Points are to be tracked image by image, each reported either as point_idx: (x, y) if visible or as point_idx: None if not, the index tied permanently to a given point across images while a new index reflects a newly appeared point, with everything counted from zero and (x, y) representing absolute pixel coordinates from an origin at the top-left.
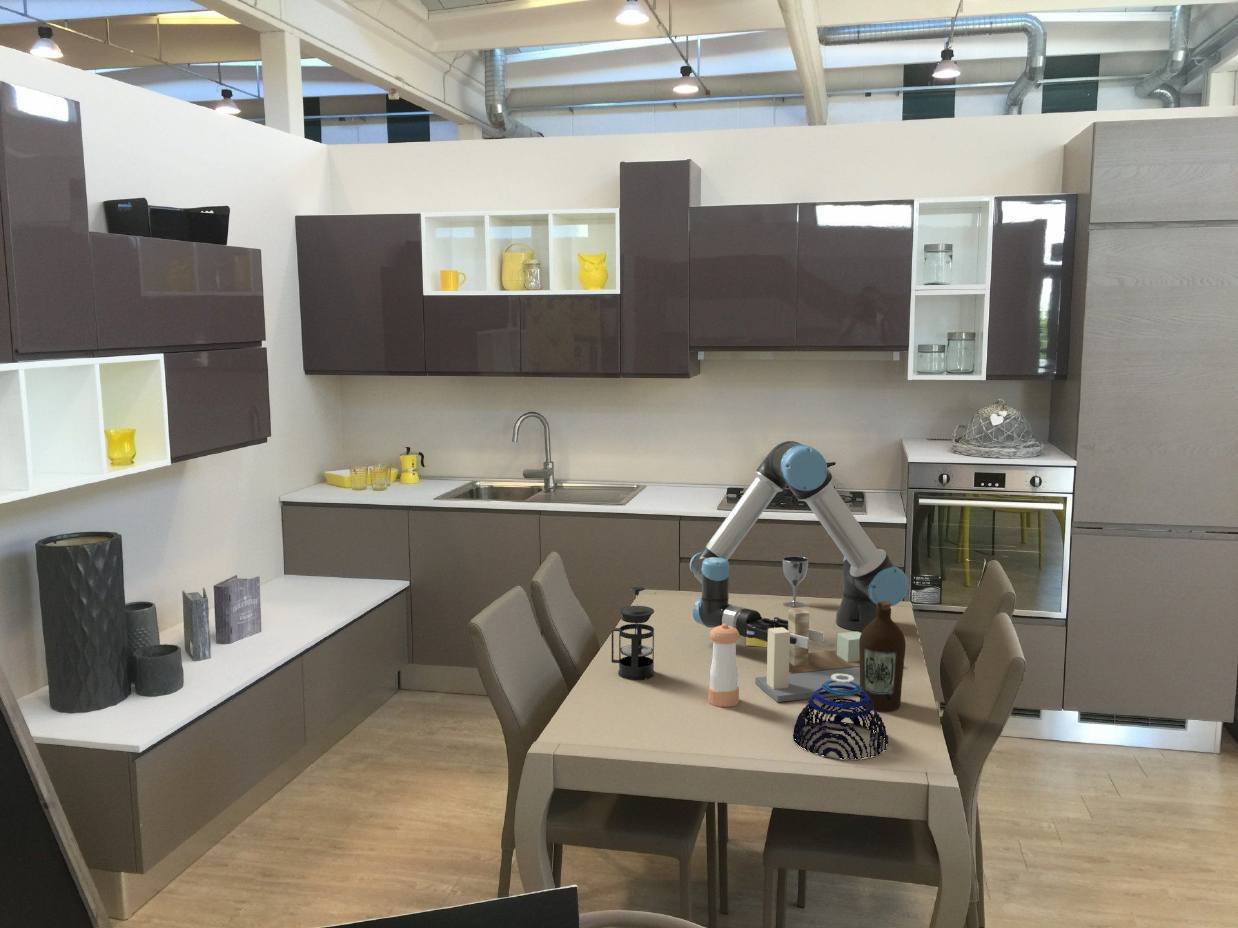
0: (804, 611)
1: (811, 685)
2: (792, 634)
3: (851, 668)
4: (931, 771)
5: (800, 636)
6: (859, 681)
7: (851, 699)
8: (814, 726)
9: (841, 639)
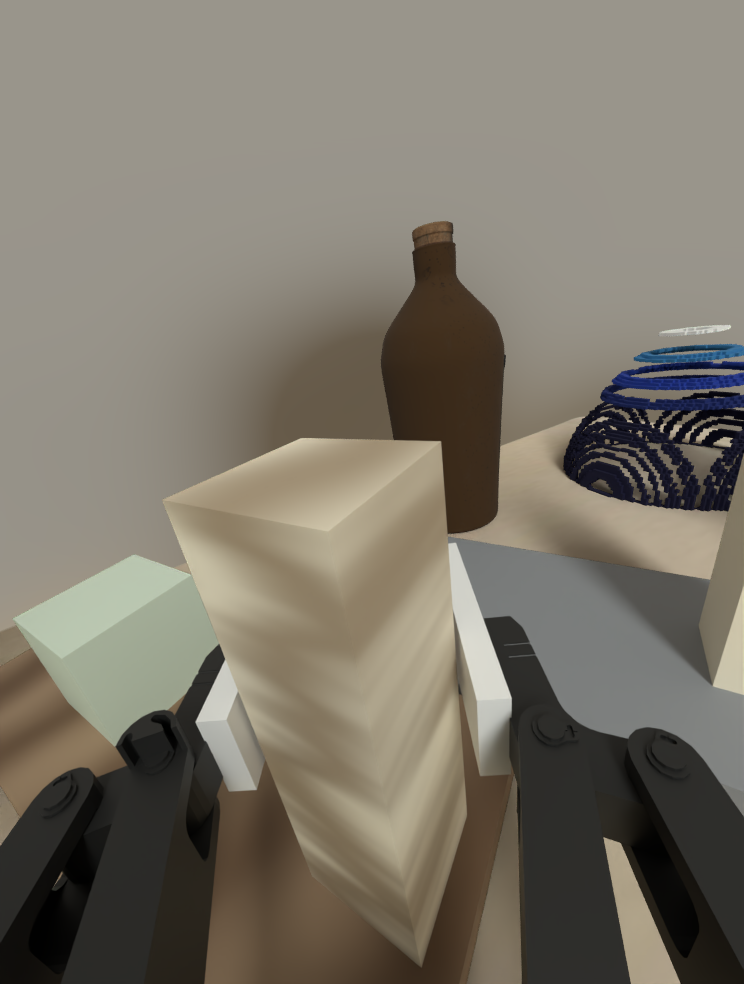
0: (289, 455)
1: (569, 594)
2: (483, 637)
3: None
4: (576, 424)
5: (464, 579)
6: None
7: (616, 421)
8: None
9: (127, 639)
